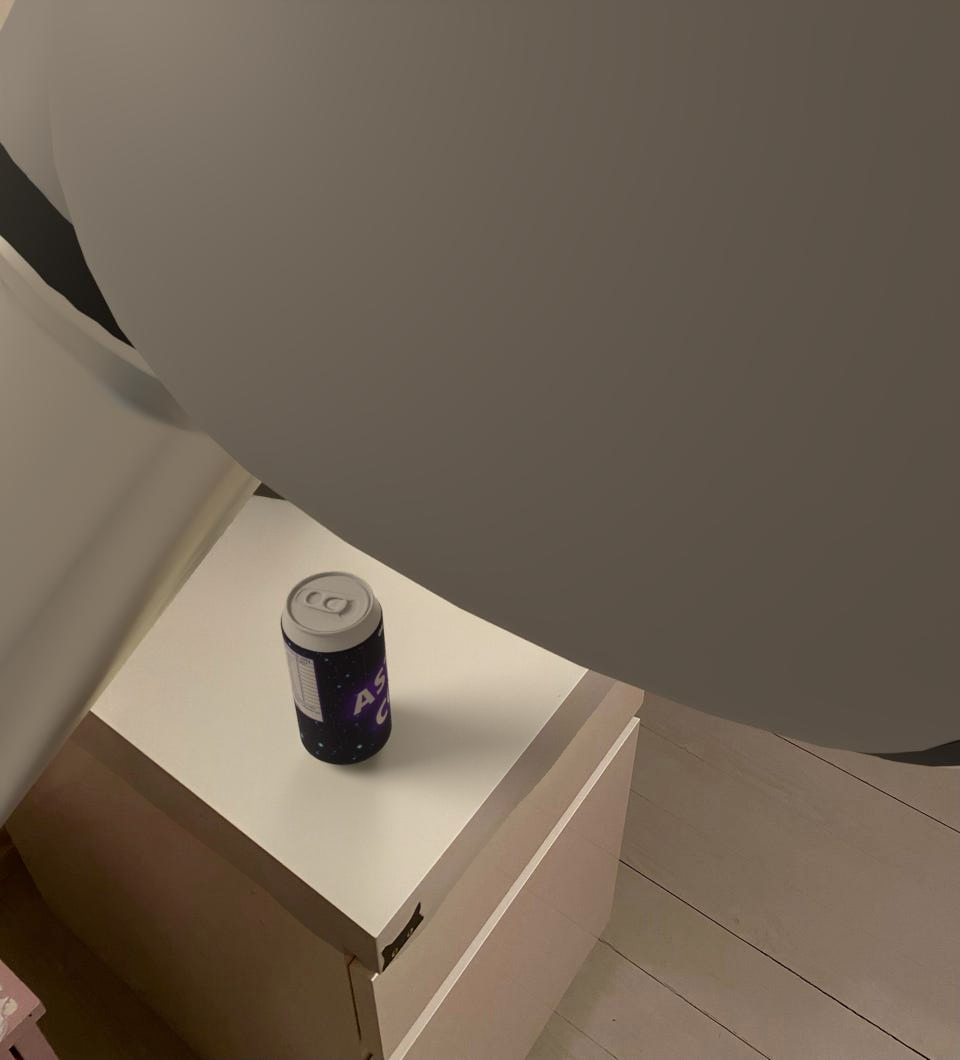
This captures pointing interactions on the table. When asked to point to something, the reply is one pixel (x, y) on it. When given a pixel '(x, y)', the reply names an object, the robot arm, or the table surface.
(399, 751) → the table surface
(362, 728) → the beverage can
